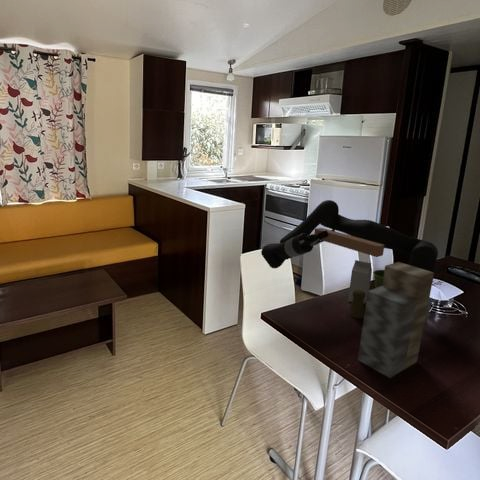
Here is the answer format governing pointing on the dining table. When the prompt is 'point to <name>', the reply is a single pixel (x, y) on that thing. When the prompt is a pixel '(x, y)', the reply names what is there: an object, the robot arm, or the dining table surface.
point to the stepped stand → (395, 319)
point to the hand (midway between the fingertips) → (330, 232)
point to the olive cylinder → (357, 304)
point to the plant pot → (378, 277)
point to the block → (352, 242)
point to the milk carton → (360, 278)
